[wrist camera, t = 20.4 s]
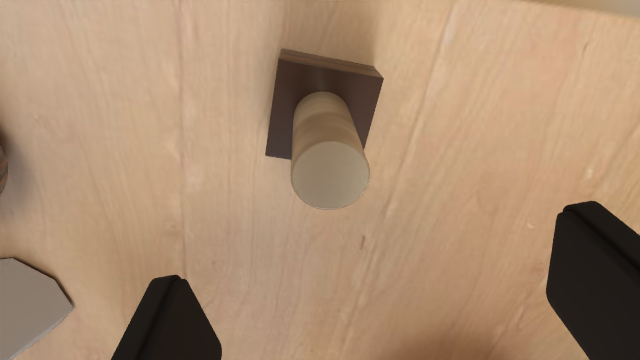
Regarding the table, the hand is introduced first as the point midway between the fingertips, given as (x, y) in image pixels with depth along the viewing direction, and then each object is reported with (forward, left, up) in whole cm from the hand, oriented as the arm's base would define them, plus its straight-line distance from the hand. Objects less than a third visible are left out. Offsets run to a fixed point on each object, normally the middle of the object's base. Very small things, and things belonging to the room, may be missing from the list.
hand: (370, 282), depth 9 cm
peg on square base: (+1, -1, -13) cm, 13 cm away
